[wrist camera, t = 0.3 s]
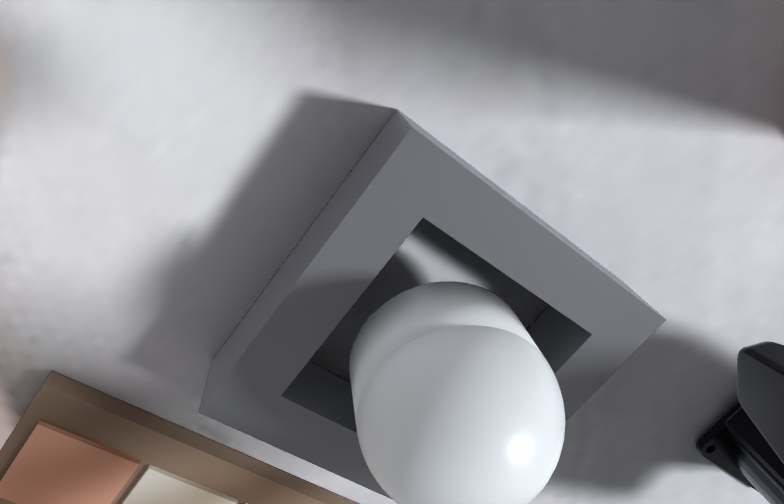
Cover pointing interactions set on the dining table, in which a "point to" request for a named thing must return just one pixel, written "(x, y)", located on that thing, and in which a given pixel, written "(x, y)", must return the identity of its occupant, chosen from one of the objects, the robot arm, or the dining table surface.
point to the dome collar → (362, 264)
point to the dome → (454, 399)
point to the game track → (130, 458)
